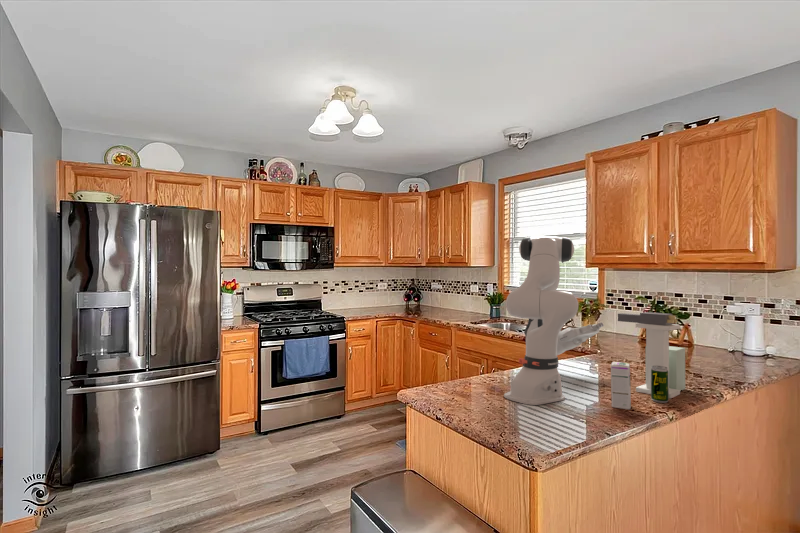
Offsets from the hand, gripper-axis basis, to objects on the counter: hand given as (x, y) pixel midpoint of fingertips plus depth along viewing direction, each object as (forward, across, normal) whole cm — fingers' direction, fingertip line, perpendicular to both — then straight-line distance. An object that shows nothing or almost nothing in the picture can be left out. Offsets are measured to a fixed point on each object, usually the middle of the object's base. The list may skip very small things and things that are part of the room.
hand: (597, 325), depth 183 cm
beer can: (+13, -12, +34) cm, 39 cm away
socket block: (+8, +9, +32) cm, 34 cm away
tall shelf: (+9, -1, +32) cm, 33 cm away
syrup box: (+8, -29, +31) cm, 43 cm away
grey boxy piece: (+18, 0, +7) cm, 20 cm away
